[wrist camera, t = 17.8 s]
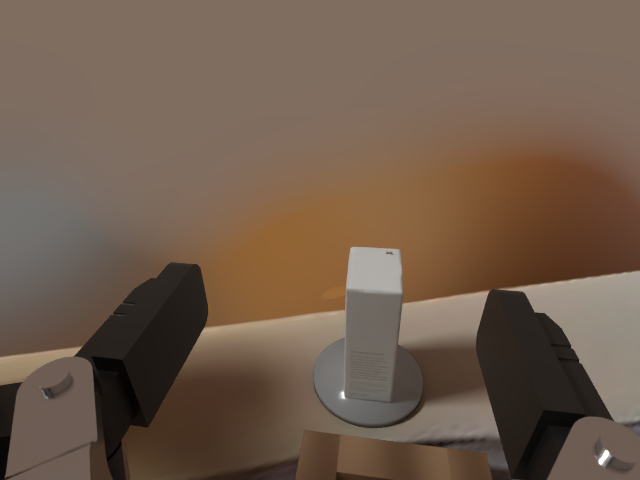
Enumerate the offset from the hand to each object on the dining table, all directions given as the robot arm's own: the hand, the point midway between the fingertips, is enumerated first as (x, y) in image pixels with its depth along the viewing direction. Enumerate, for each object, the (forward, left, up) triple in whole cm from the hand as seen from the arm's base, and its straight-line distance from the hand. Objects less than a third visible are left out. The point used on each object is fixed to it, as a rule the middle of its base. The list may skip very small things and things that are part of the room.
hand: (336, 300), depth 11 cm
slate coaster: (+1, +16, -22) cm, 28 cm away
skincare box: (+1, +16, -22) cm, 27 cm away
